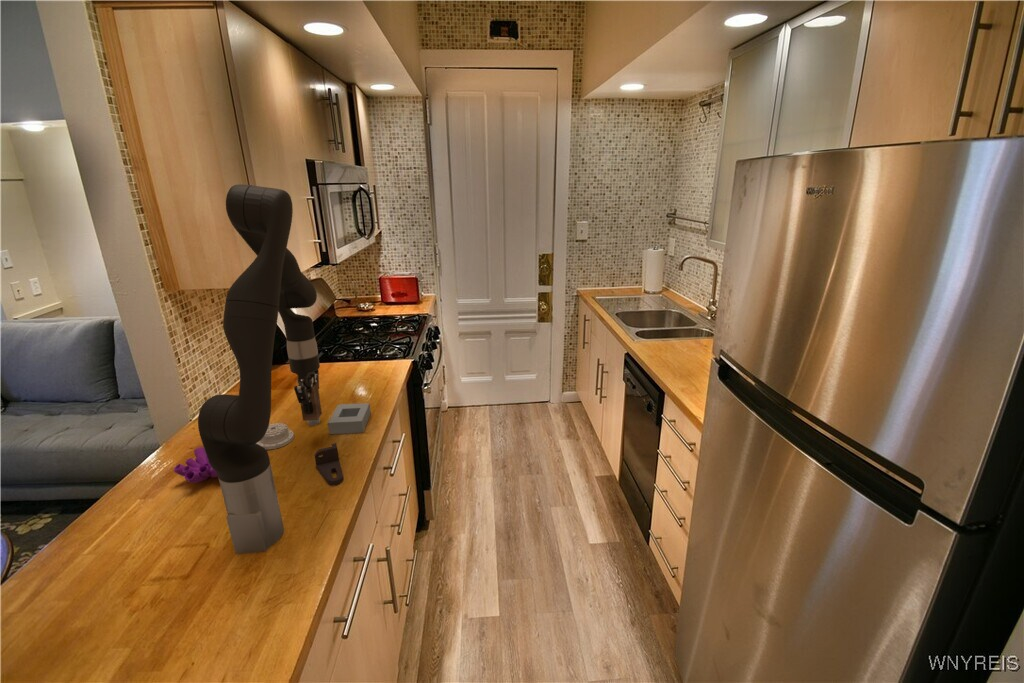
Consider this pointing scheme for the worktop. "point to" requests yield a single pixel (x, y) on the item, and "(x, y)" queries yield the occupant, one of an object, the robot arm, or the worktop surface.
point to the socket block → (349, 418)
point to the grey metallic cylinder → (313, 422)
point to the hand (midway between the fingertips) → (311, 409)
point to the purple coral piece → (196, 467)
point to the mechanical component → (276, 436)
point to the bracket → (329, 464)
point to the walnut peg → (313, 405)
